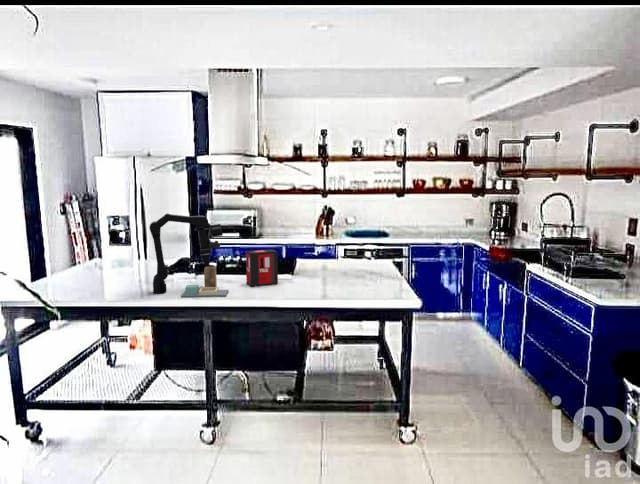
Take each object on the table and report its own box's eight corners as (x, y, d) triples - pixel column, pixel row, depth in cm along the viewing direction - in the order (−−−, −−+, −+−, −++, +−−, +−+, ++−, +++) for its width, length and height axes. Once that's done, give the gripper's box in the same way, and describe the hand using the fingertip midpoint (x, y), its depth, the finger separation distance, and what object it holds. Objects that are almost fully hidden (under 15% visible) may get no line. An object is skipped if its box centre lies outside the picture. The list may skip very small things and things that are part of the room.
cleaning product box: (272, 281, 314) (272, 249, 312) (277, 284, 307) (277, 251, 304) (246, 284, 307) (245, 251, 305) (251, 287, 300) (250, 253, 297)
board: (181, 297, 276) (180, 288, 275) (185, 292, 288) (184, 283, 287) (226, 296, 278) (226, 287, 277) (228, 291, 290) (228, 282, 289)
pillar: (204, 290, 292) (204, 268, 290) (206, 287, 298) (205, 266, 296) (215, 290, 292) (214, 268, 291) (216, 287, 298) (216, 266, 297)
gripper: (218, 237, 281) (222, 265, 283) (218, 235, 300) (222, 261, 301) (197, 239, 280) (201, 268, 281) (199, 237, 298) (203, 264, 299)
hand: (208, 265), depth 291 cm, fingers open, 9 cm apart
